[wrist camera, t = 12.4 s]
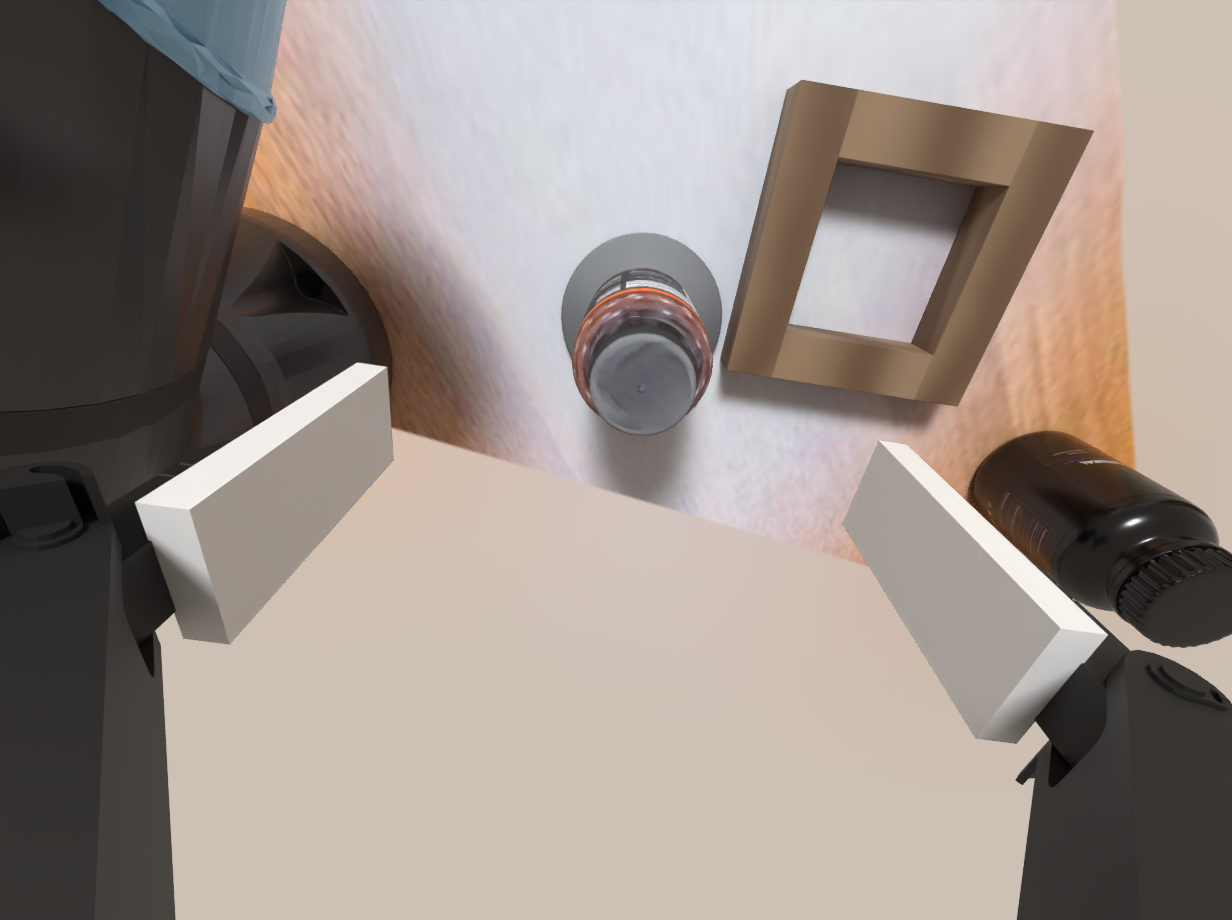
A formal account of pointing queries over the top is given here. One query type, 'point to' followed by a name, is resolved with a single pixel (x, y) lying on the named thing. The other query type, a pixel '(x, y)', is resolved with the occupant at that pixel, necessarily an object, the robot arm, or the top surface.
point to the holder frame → (975, 268)
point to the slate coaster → (641, 254)
